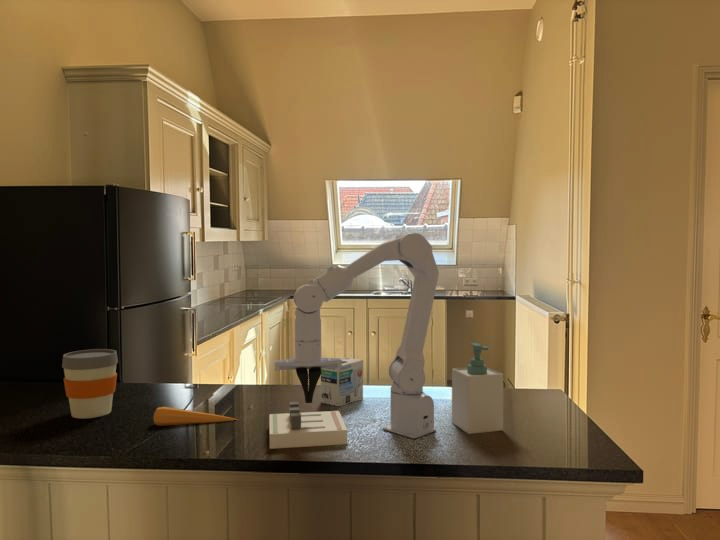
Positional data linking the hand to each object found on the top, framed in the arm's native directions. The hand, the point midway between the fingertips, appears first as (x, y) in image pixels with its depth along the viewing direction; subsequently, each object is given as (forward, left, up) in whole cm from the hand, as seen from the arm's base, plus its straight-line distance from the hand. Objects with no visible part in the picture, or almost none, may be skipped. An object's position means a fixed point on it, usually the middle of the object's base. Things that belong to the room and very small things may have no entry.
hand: (308, 401), depth 121 cm
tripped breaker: (+2, +3, -4) cm, 5 cm away
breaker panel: (0, 0, -7) cm, 7 cm away
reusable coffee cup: (+51, +28, -8) cm, 59 cm away
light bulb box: (+15, -24, -8) cm, 30 cm away
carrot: (+25, +13, -8) cm, 30 cm away
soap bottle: (-23, -31, -8) cm, 39 cm away
